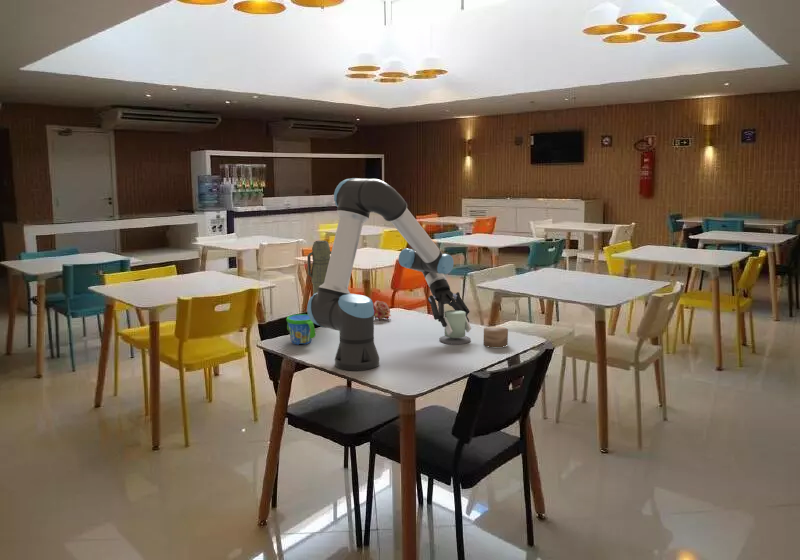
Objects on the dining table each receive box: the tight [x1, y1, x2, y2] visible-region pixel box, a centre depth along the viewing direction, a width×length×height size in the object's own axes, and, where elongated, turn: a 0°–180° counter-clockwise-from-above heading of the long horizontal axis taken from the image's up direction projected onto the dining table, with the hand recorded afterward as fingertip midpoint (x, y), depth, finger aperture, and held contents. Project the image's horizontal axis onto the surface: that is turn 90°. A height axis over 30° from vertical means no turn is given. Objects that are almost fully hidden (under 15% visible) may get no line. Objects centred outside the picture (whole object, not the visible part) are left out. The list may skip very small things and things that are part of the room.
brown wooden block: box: [483, 325, 509, 348], centre depth 246 cm, size 9×9×6 cm
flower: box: [373, 299, 392, 321], centre depth 288 cm, size 10×9×8 cm
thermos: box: [306, 240, 332, 296], centre depth 282 cm, size 9×12×35 cm
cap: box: [444, 309, 466, 338], centre depth 252 cm, size 8×8×9 cm
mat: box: [439, 335, 471, 346], centre depth 253 cm, size 12×12×1 cm
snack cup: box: [285, 313, 317, 346], centre depth 250 cm, size 16×10×10 cm
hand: (459, 331), depth 249 cm, fingers closed on cap, 8 cm apart
